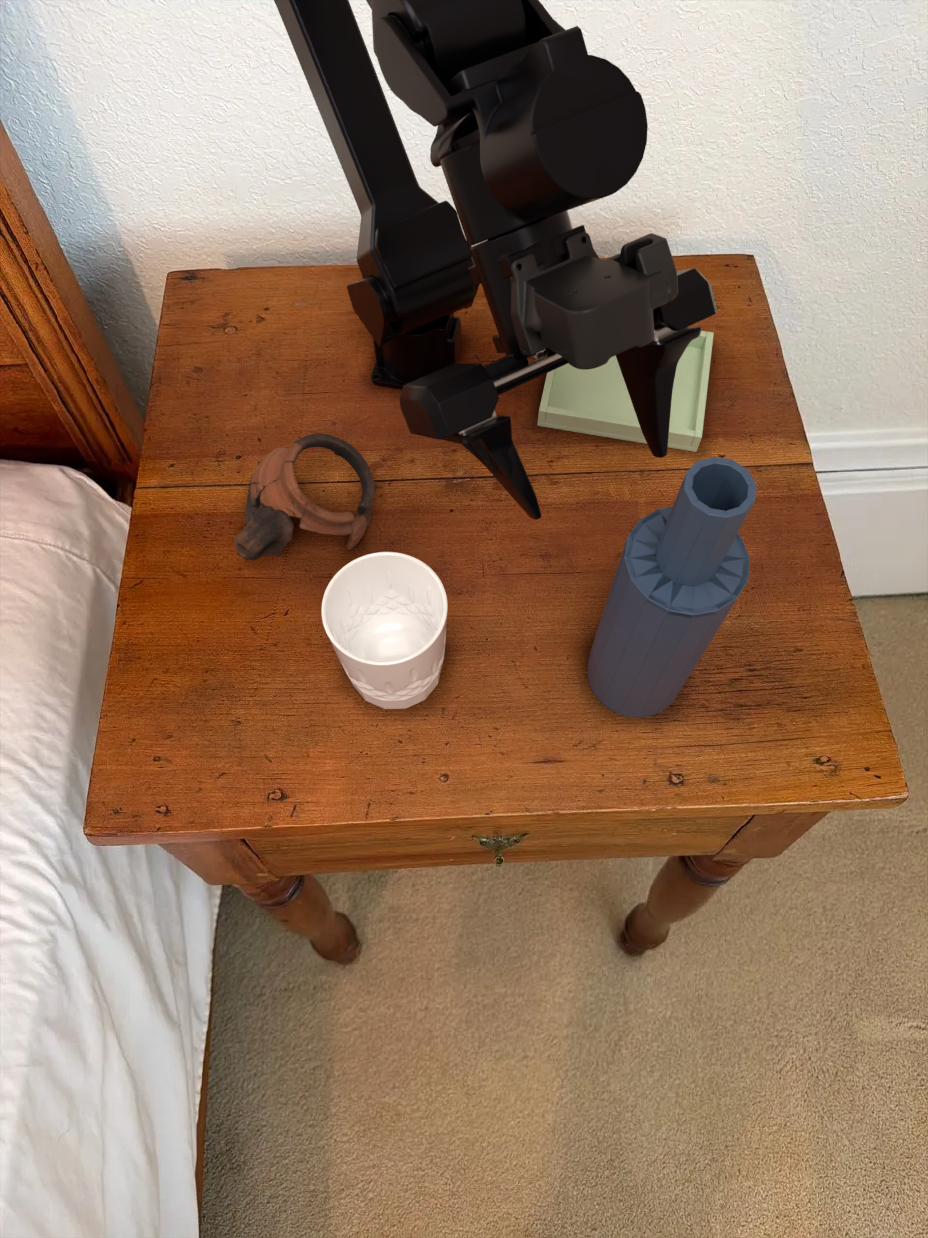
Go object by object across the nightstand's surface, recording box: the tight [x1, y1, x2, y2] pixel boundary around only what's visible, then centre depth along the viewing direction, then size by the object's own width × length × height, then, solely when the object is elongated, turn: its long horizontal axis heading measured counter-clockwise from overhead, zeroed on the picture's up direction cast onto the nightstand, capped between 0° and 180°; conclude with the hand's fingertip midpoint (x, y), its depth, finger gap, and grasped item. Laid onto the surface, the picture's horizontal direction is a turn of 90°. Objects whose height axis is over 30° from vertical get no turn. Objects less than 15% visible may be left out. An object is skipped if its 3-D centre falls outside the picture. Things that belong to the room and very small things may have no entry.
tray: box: [536, 330, 715, 453], centre depth 74 cm, size 13×11×2 cm
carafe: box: [586, 456, 757, 719], centre depth 53 cm, size 7×7×24 cm
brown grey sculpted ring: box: [233, 432, 376, 562], centre depth 67 cm, size 12×9×8 cm
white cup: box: [320, 551, 449, 710], centre depth 60 cm, size 8×8×10 cm
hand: (599, 486), depth 55 cm, fingers open, 9 cm apart
